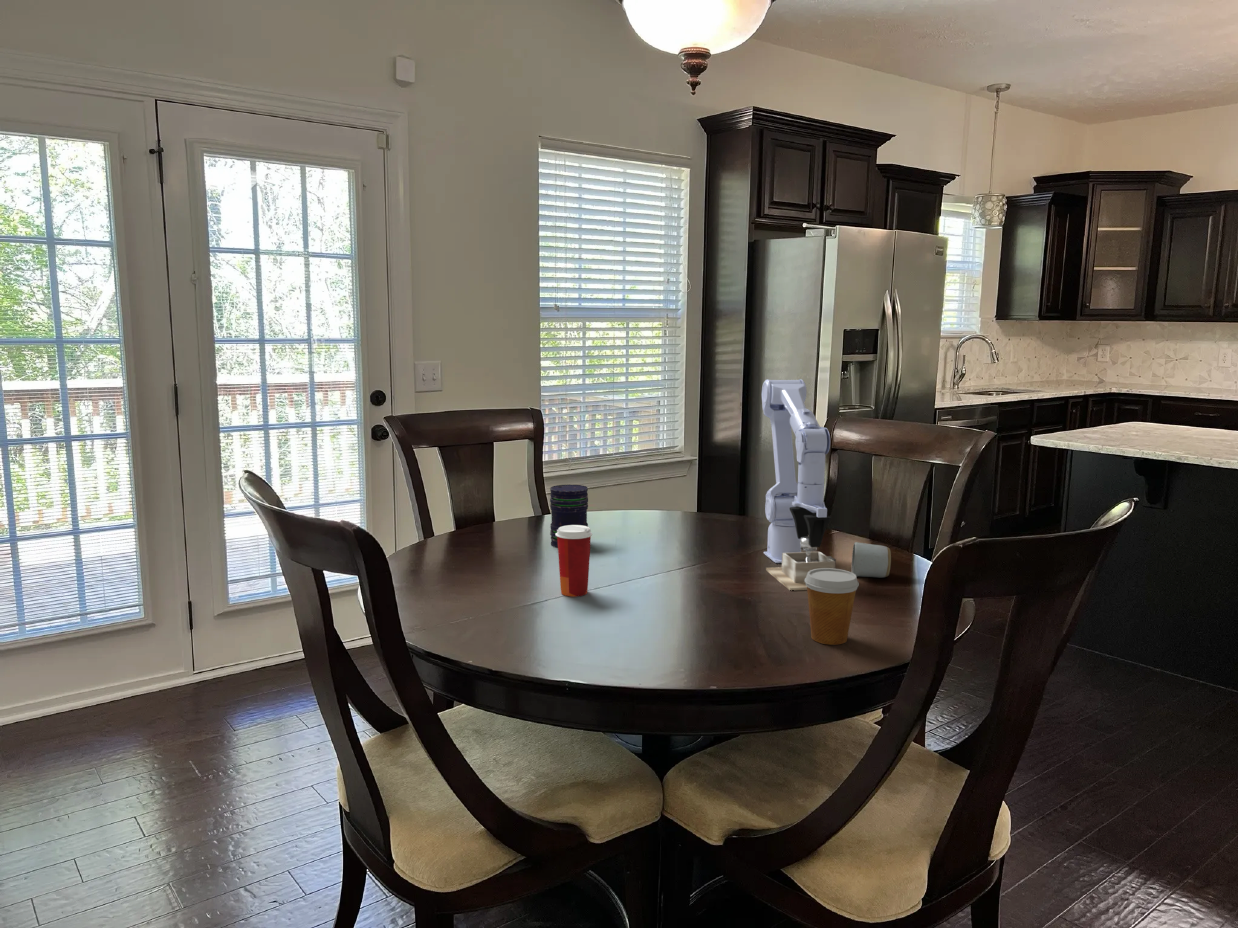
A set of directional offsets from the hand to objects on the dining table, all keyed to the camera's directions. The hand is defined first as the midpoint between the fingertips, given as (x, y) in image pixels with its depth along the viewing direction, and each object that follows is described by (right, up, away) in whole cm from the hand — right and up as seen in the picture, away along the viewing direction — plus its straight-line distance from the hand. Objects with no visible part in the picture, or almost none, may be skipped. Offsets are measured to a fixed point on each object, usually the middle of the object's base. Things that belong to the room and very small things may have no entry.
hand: (808, 542), depth 192 cm
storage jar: (-55, -4, +32) cm, 64 cm away
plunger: (0, -6, +1) cm, 6 cm away
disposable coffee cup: (-4, -14, -36) cm, 39 cm away
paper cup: (-52, -10, -10) cm, 54 cm away
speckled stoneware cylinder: (+15, -8, +5) cm, 18 cm away
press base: (0, -8, +1) cm, 8 cm away
